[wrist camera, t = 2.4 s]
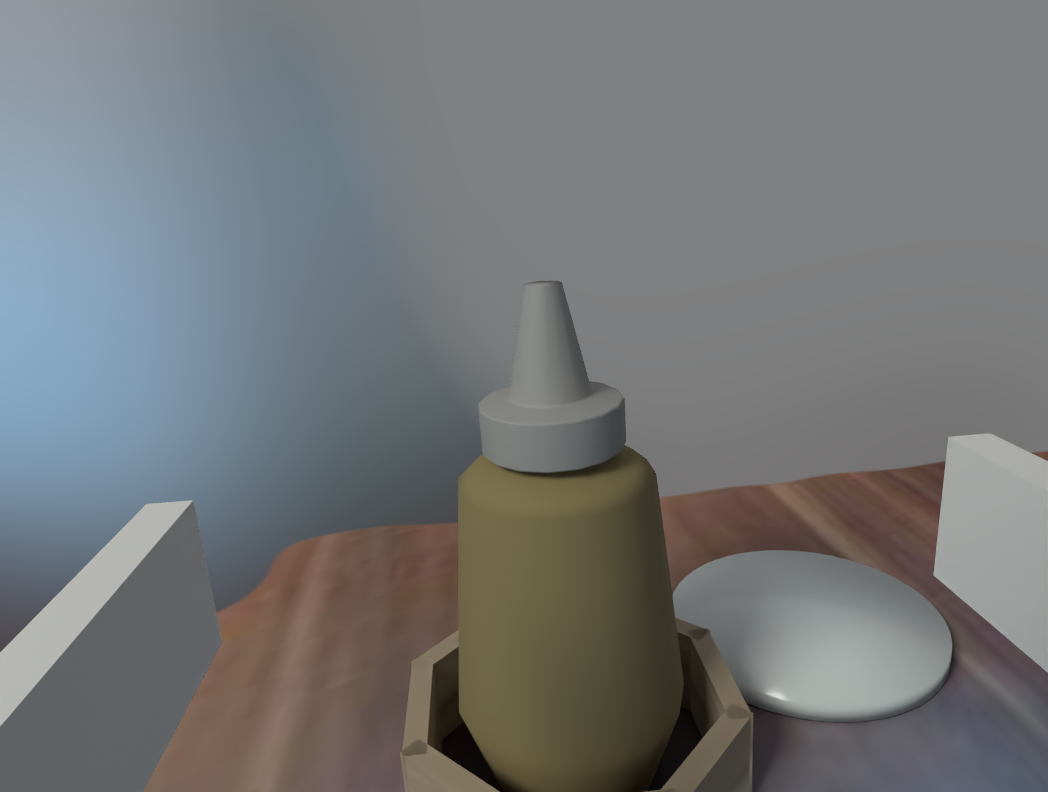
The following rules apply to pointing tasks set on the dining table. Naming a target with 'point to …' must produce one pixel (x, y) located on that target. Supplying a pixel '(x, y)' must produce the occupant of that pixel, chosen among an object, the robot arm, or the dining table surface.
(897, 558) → the dining table surface
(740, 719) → the birch collar
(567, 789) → the squeeze bottle
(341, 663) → the dining table surface
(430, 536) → the dining table surface
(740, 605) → the ceramic coaster
